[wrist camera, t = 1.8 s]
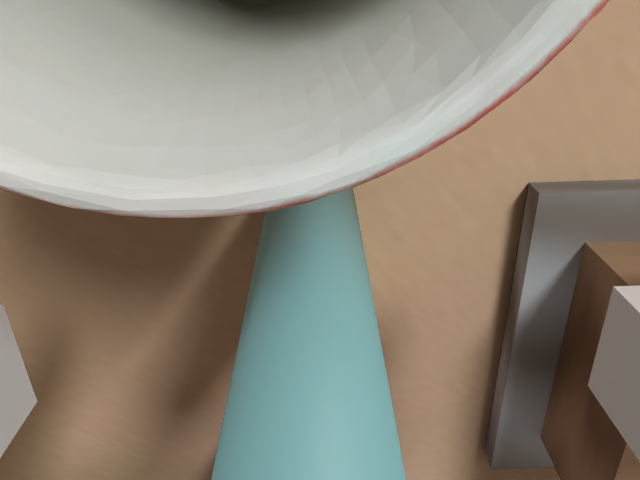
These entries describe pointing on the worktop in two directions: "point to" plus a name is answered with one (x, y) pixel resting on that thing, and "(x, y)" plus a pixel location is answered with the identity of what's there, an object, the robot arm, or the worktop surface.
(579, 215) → the square wooden frame
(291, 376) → the long pin
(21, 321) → the worktop surface
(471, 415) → the worktop surface
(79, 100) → the mug
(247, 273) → the worktop surface
